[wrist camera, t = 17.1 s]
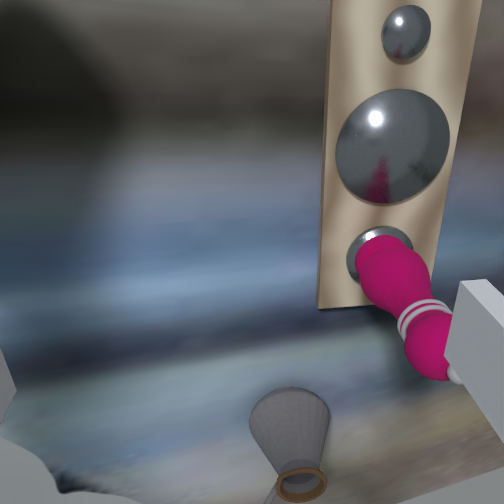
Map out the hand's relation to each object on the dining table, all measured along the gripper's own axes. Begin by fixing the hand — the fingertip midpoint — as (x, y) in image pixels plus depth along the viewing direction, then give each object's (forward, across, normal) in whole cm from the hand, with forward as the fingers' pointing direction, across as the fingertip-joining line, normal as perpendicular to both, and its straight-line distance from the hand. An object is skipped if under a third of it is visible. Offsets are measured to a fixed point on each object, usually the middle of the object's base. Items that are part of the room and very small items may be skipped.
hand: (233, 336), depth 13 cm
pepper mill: (+35, +18, -18) cm, 43 cm away
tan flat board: (+37, +18, -7) cm, 41 cm away
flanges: (+35, +18, -1) cm, 40 cm away
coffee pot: (+37, +4, -47) cm, 60 cm away
